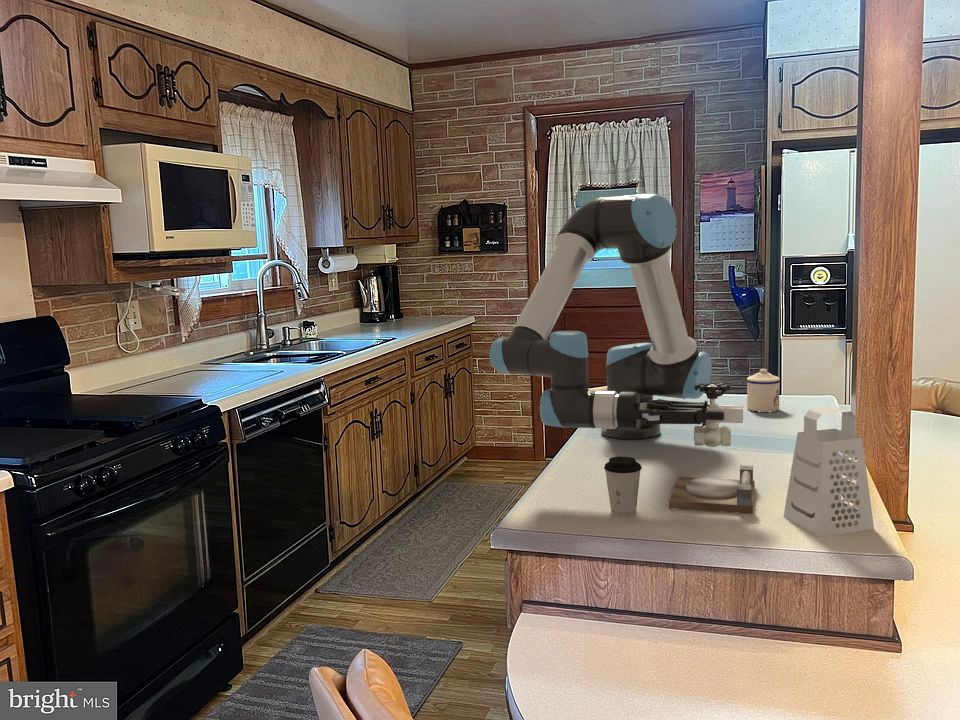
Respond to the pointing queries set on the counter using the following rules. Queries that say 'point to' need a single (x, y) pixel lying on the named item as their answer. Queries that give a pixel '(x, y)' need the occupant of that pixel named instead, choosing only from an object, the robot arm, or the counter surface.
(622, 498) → the coffee cup
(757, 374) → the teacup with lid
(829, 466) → the grater
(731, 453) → the counter surface
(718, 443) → the valve
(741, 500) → the shaft stand
